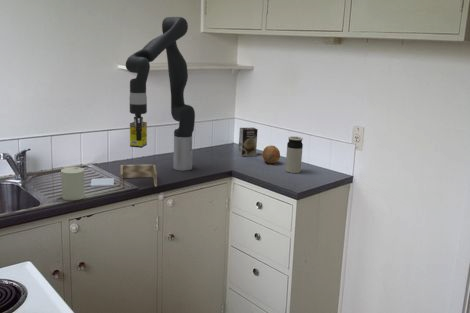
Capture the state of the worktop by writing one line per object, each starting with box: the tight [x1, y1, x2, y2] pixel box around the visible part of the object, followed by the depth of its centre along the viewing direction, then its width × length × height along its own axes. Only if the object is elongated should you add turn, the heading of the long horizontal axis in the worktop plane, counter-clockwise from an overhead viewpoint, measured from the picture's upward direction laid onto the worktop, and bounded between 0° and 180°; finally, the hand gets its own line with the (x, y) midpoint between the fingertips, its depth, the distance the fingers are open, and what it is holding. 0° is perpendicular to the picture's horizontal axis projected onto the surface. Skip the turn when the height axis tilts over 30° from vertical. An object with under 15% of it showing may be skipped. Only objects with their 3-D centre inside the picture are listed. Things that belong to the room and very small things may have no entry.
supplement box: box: [129, 121, 148, 149], centre depth 218 cm, size 6×6×11 cm
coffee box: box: [237, 127, 258, 158], centre depth 281 cm, size 9×6×16 cm
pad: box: [90, 177, 115, 188], centre depth 220 cm, size 10×10×1 cm
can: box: [60, 166, 86, 201], centre depth 199 cm, size 9×9×12 cm
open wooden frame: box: [120, 164, 158, 188], centre depth 224 cm, size 16×16×6 cm
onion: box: [261, 145, 281, 164], centre depth 267 cm, size 10×10×10 cm
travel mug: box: [285, 136, 304, 174], centre depth 252 cm, size 8×8×18 cm
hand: (138, 138), depth 219 cm, fingers closed on supplement box, 7 cm apart
